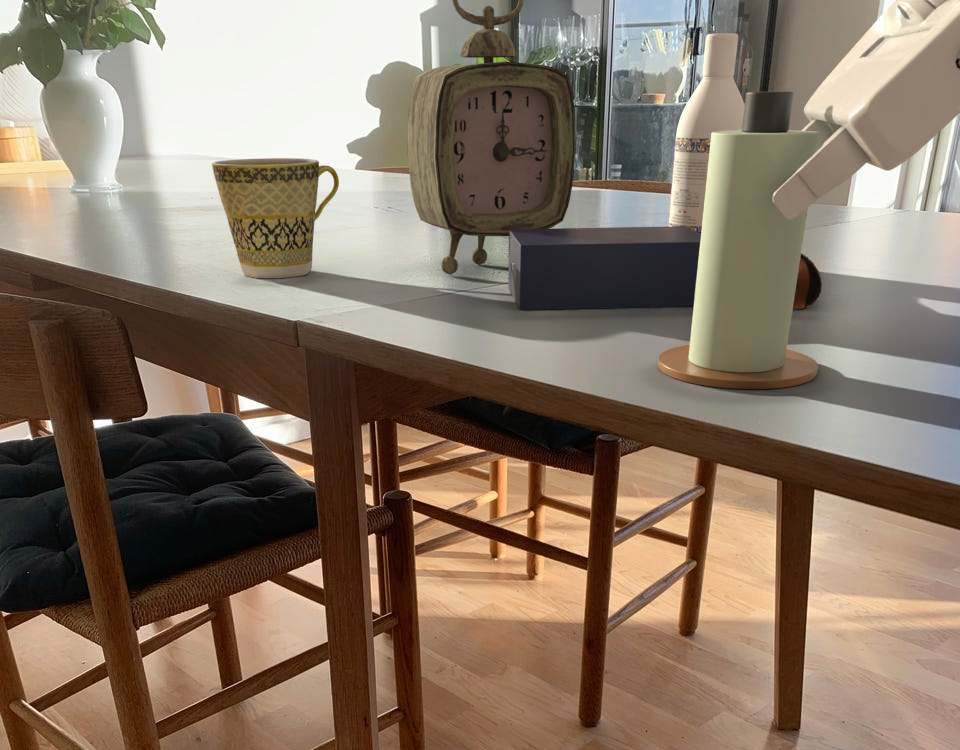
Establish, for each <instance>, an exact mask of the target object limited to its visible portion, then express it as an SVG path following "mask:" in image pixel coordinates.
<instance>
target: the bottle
mask: <svg viewBox="0 0 960 750" xmlns="http://www.w3.org/2000/svg"><path fill="white" fill-rule="evenodd" d="M794 95H795V94H794V91H747V92H746V93H745V99H744V104H745V107H744V116H743V124H742V130H732V131H715V132H712V133H711V142H710V152H709V162H708V171H707V181H706V191H705V201H704V211H703V220H702V230H701V240H700V250H699V260H698V270H697V279H696V289H695V299H694V306H693V309H692V320H691V328H690V329H691V330H690V339H689V345H690V348H689V361H690V362H691V363H693V364H695V365H697V366H700V367H703V368H706V369H711V370H717V371H724V372H737V373H753V372H765V371H771V370H775V369H778V368H780V367H782V366H783V365H784V362H785V355H786V349H787V348H788V341H789V336H790V335H789V334H790V328H791V322H792V315H793V310H794V309H793V303H794V296H795V290H796V283H797V276H798V270H799V263H800V257H801V253H802V250H803V243H804V236H805V230H806V225H807V224H806V223H807V217H808V210H809V207H808V208H807V209H806V210H805V211H804V212H802V213H801V214H800V215H799V216H798V217H797V218H795V219H793V220H789V219H786V218H785V217H784V216H783V214H782V213H781V212H780V211H779V209H778V208H777V207H776V206H775V204H774V203H773V202H772V200H771V194H772V192H773V190H774V189H775V188H777V187H778V186H779V185H780V184H781V183H782V182H783V181H784V180H785V179H786V178H787V177H788V176H789V175H790V174H791V173H793V172H794V171H795V172H796V171H797V170H798V169H799V168H800V167H801V166H802V165H803V164H804V163H805V162H806V161H807V160H808V159H809V158H810V157H812V156H813V155H814V154H815V153H816V152H817V146H818V139H819V132H816V131H801V130H795V129H794V130H791V129H790V122H791V116H792V108H793V101H794ZM787 350H788V349H787Z"/></svg>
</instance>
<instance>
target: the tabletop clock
mask: <svg viewBox="0 0 960 750" xmlns="http://www.w3.org/2000/svg"><path fill="white" fill-rule="evenodd" d="M452 5H453V7H454V9H455V11H456V12H457V14H458V15H459V16H460V17H461V19H463V20H464V21H467V22H469V23H471V24H473V25H478V26H482V29H479V30H475V31H473V32H472V33H470V34H469V36H467V38H466V39H465V41H464V44H463V46H462V48H461V52H460V55H459V57H460V58H467V59H468V58H473V59H475V58H476V59H477V58H479V59H480V58H481V59H483V62H482V63H481V62H480V63H470V64H457V65H447V66H438V67H433V68H430V69H427V70H426V71H424V72H422V73H420V74H418V75H416V76H415V77H414V82H413V84H412V88H411V91H410V94H409V95H410V96H409V101H408V110H407V111H408V112H407V141H406V143H407V145H406V155H407V162H408V171H409V172H408V173H409V182H410V189H411V195H412V199H413V203H414V207H415V210H416V212H417V214H418V217H419V219H420V221H421V222H424V223H426V224H428V225H431V226H434V227H436V228H440V229H443V230H447V231H449V235H450V242H449V252H448V256H446V257H444V258H443V259H442V260H441V263H440V265H441V270H442V271H443V273H445V274H447V275H453V274H454V273H456V272H457V271H458V267H459V263H458V261H457V259H456V258H455V257H456V253H457V250H458V246H459V243H460V241H461V239H462V237H463V236H464V235H465V236H470V237H471V236H472V237H473V236H474V237H477V248H475V249H474V250H473V251H472V253H471V260H472V262H473V263H474V264H475V265H477V266H480V265H484V264H485V263H486V262H487V260H488V253H487V251H486V249H484V245H485V240H486V237H509V229H553V227H555V226H557V225H558V224H561V223H562V222H564V219H565V216H566V213H567V211H568V208H569V205H570V201H571V195H572V191H573V190H572V189H573V182H574V173H575V161H576V152H577V146H576V141H577V139H576V109H575V101H574V93H573V89H572V85H571V82H570V78H569V75H568V74H566V73H564V72H563V71H561V70H559V69H558V68H556V67H552V66H550V65H544V64H537V63H536V64H535V63H527V62H516V61H498V62H497V61H496V62H495V61H494V58H517V57H518V56H517V52H516V48H515V45H514V43H513V41H512V39H511V38H510V37H509V35H508V34H507V33H506V32H503V31H501V30H498V29H495V26H499V25H500V26H501V25H504V24H507V23H509V22H512V21H513V20H515V19H516V17H517V16H518V15H519V14H520V13H521V12H522V8H523V6H524V0H518V3H517V6H516V8H514V9H513V10H512V11H510V12H509V13H506V14H504V15H503V14H502V15H501V16H500V15H497V16H495V9H494V7H493V6H491V5H486V6H484V7H483V9H482V15H475V14H473V13H470V12H468V11H466V10H465V9H464V8H463V7H461V6H460V4H459V1H458V0H452Z"/></svg>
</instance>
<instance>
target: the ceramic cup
mask: <svg viewBox="0 0 960 750" xmlns="http://www.w3.org/2000/svg"><path fill="white" fill-rule="evenodd" d="M211 167H212V171H213V176H214V180H215V184H216V188H217V191H218V194H219V197H220V201H221V204H222V208H223V210H224V212H225V216H226V219H227V222H228V226H229V231H230V234H231V237H232V240H233V244H234V247H235V251H236V254H237V257H238V258H237V259H238V262H239V263H240V267H241V271H242V273H243V275H244V276H246V277H251V278H253V279H286V278H293V277H301V276H306V275H307V274H309V273H310V272H311V271H312V268H313V249H314V248H313V247H314V233H315V222H316V220H318V218H319V217H320V216H321V214H322V212H323V210H324V208H325V207H326V206H327V204H328V203H329V202H330V201H331V200H332V199H333V198H334V197H335V195H336V193H337V192H338V190H339V186H340V180H339V176H338V173H337V171H336V170H335V168H334V167H332V166H330V165H325V164H324V165H320V161H319V160H317V159H314V158H296V157H295V158H294V157H292V158H291V157H289V158H288V157H287V158H286V157H278V158H277V157H273V158H272V157H271V158H270V157H269V158H266V157H265V158H241V159H227V160H218V161H214V162H212V163H211ZM326 172H328V173H329V174H330V175H331V176H332V178H333V187H332V189H331V191H330V192H329V193H328V195H327V196H326V197H325V198H324V199H323V200H322V201H321V202H320V204H319V205H318V207H317V200H318V188H319V178H320V176H321V175H322V174H324V173H326Z"/></svg>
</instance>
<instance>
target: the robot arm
mask: <svg viewBox="0 0 960 750" xmlns="http://www.w3.org/2000/svg"><path fill="white" fill-rule="evenodd" d="M803 114H804V116H805V117H806V118H807V119H808V121H809V122H808V124H807V125H806V126H804V127H803V128H802V129H801V130H800V131H816V132H819V139H818V146H817V152H816V153H815V154H814V155H813V156H812V157H810V158H809V159H808V160H807V161H806V162H805V163H804V164H803V165H802V166H801V167H800V168H799V169H798V170H797V171H796V172H795V171H794V172H793V173H791V174H790V175H789V176H788V177H787V178H786V179H785V180H784V181H783V182H782V183H781V184H780V185H779V186H778V187H777V188H775V189H774V190H773V192H772V194H771V200H772V202H773V203H774V204H775V206H776V207H777V208H778V209H779V211H780V212H781V213H782V214H783V216H784V217H785V218H786V219H789V220H793V219H795V218H797V217H798V216H799V215H800V214H801V213H802V212H804V211H805V210H806V209H807V208H808V209H809V207H811V206H812V204H814V203H815V202H816V201H817V200H818V199H820V198H822V197H823V196H825V195H826V194H828V193H829V192H831V191H833V190H834V189H836V188H837V187H838V186H840V185H841V184H843V183H845V182H847V180H849V179H850V178H851V177H853V176H854V175H855V174H856V173H857V172H858V171H860V170H861V169H862V167H864V166H865V165H866V164H869V165H871V166H874V167H876V168H878V169H881V170H883V171H887V172H888V171H892V170H894V169H896V168H897V167H899V166H901V165H902V164H904V163H905V162H907V161H908V160H909V159H911V158H912V157H913V156H915V155H916V154H917V153H918V152H919V151H920V150H922V149H923V148H924V147H926V145H927V144H928V143H929V142H930V141H931V140H932V139H934V138H935V137H936V136H937V135H938V134H939V133H940V132H942V130H944V128H945V127H946V126H948V124H950V123H951V122H952V121H953V120H954V119H955V118H956V117H957V116H958V115H959V114H960V0H895V2H893V3H892V4H891V5H890V6H889V7H888V8H887V9H886V10H885V11H884V12H883V14H881V15H880V16H879V18H878V19H877V20H876V21H875V22H874V23H873V24H872V25H871V26H870V27H869V29H868V30H867V31H866V32H865V33H864V34H863V36H862V37H861V38H860V39H859V40H858V41H857V42H856V43H855V45H854V46H853V47H851V49H850V50H849V51H848V52H847V54H846V55H845V56H844V57H843V58H842V59H841V60H840V62H838V63H837V65H836V66H835V67H834V69H832V71H831V72H830V73H829V74H828V75H827V77H825V79H824V80H823V81H822V82H821V83H820V85H819V86H818V87H817V89H816V90H815V91H814V93H813V94H812V95H811V96H810V98H809V99H808V101H807V102H806V104H805V105H804V108H803Z"/></svg>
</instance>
